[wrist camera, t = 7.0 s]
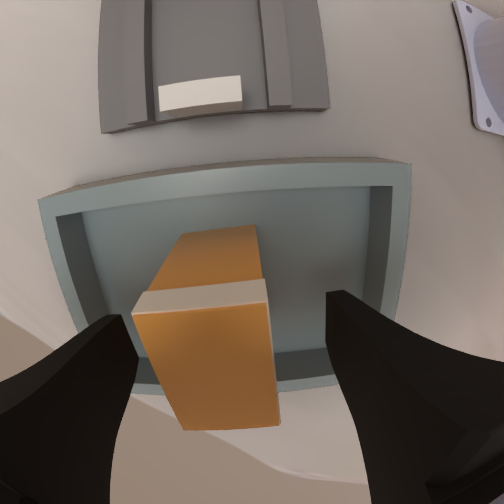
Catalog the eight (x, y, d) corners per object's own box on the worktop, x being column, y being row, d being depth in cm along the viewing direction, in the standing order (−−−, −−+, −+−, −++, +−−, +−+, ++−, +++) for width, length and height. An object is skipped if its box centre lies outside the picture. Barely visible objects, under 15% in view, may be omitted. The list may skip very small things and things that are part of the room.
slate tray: (378, 157, 11) (411, 164, 9) (362, 342, 15) (379, 376, 12) (72, 186, 11) (37, 199, 9) (121, 357, 15) (106, 390, 12)
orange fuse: (256, 222, 12) (268, 302, 6) (267, 319, 13) (281, 426, 8) (180, 232, 12) (129, 314, 6) (201, 325, 13) (182, 430, 8)
